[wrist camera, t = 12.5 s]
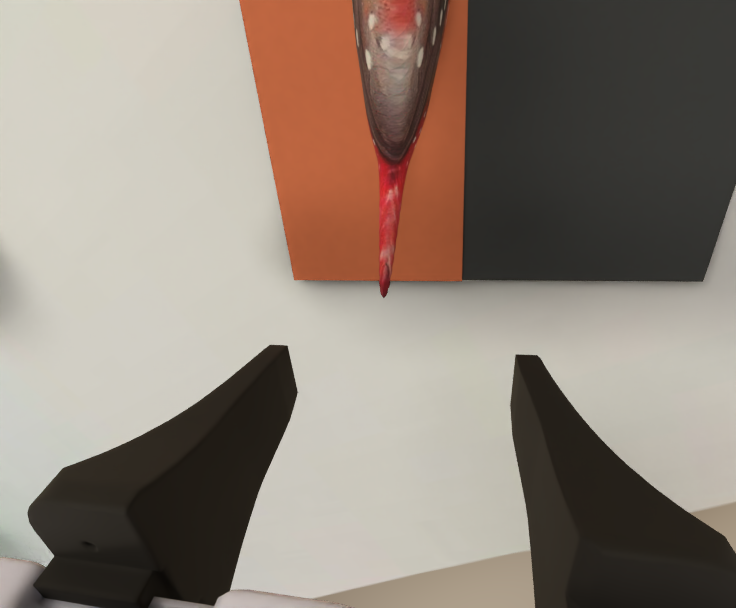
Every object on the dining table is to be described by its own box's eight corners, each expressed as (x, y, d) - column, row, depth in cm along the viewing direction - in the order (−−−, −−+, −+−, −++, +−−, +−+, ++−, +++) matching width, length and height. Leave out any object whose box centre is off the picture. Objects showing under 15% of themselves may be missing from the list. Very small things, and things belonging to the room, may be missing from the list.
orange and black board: (983, -591, 10) (1010, -621, 10) (698, 276, 22) (704, 283, 21) (177, -355, 14) (166, -369, 14) (297, 274, 26) (294, 280, 25)
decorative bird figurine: (488, -348, 13) (535, -1016, 4) (430, 236, 22) (412, 368, 14) (386, -339, 13) (254, -939, 5) (372, 231, 23) (320, 357, 14)
